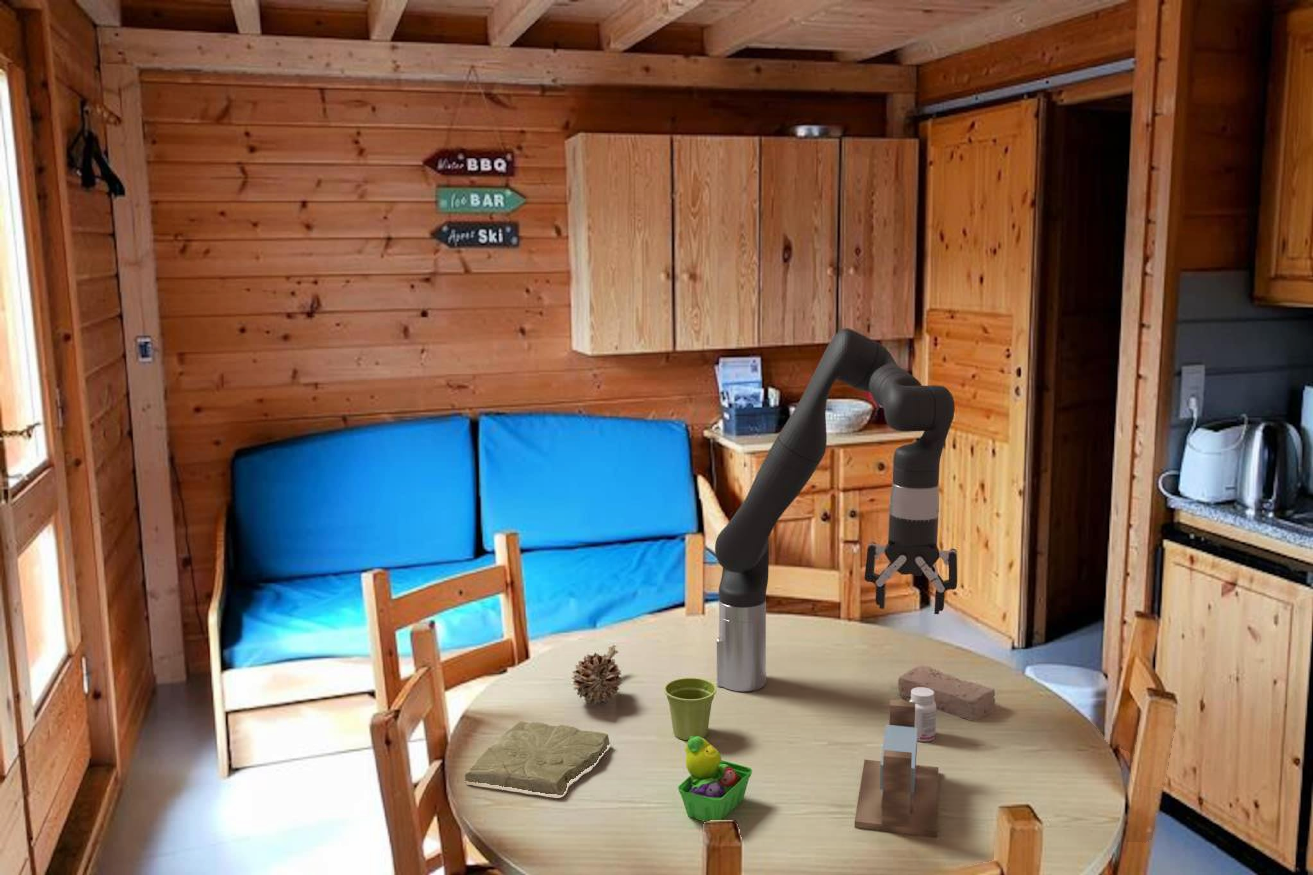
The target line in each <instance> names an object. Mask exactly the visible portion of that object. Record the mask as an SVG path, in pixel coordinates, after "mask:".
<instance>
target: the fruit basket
mask: <svg viewBox="0 0 1313 875" xmlns="http://www.w3.org/2000/svg"><path fill="white" fill-rule="evenodd" d="M685 752H686V758H685V766H686V768H687V769H686V770H687V772H688V773H689V774H690V775H689V776H688V777H687V778H686V779H685V780H684V781H682V782H681V784H679V785H678V786H677V790H678V792H679V794H680V796H681V798H682V802H683V806H684V808H685V811H686V814H687V817H688V818H691V817H694V819H695V818H696V820H697V819H698V821H701V820H704V821H710V820H721V821H722V818H723V819H725V818H726V817H727V815H729V814H730V812H731V811H733V810H734V809H735V808H736V807H737V805H738V804H740V803H741V802H742V801H743V800H744V798H745V794H746V790H747V788H748V784H749V780H750V778H751V776H752V774H753V769H752V768H750V767H749V766H744V765H741V764H737V763H734V762H730V761H726V760H723V759H722V755H721V753H720V752H719V751H718V749H717V748H716V747H715V746H713V745H712V744H711V743H709V742H708V741H707V739H705V737H704V738H701V737H699V736H696V737H694V736H691V737H690V739H688V740H687V742H686V746H685ZM704 821H703V822H704Z"/></svg>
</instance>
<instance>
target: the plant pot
mask: <svg viewBox="0 0 1313 875" xmlns="http://www.w3.org/2000/svg"><path fill="white" fill-rule="evenodd" d="M717 687H718V686H717V684H715V683H713V682H712V681H711V680H708V679H705V678H701V677H681V678H677V679H673V680H671V681H669V682H668V683H666V684H665V685H664V687H663V690H664V694H665V695H666V699H667V700H668V703H669V711H670V718H671V725H672V732H673V735H674V736H675V737H676V738H678V739H681V740H684V741H688V740H689V739H690V737H691V736H694V737H696V736H699V737H701V738H704V739H705V737H706V736H708V735H707V734H708V732H709V725H710V717H711V711H712V703H713V700H714V698H715V695H716V694H717V691H718V688H717Z"/></svg>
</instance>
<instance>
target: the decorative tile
mask: <svg viewBox="0 0 1313 875" xmlns="http://www.w3.org/2000/svg"><path fill="white" fill-rule="evenodd" d="M609 744H610V745H611V742H610V738H609V734H608V733H604V732H598V731H592V730H583V729H582V730H581V729H579V728H578V727H576V726H575V727H574V726H570V725H567V724H566V725H565V724H559V725H550V724H548V723H544V722H538V721H536V722H535V721H533V722H525V721H523V720H522V721H521V720H520V721H517V722H516V723H515V724H514V725H513V726H511V727H510V728H508V730H507V731H506V732H504V733H503V734H502V735H501V736H500V737H499V738H498V739H496V741H495V742H494V743H492V744H491V745H490V747H488V748H486V749H485V751H484V752H483V753H482V754H481V755H480V756H479V757H478V758H477V759H476V760H475V761H474V763H473V764H472V765H471V766H470V767H469V768H468V769H467V770H466V772H465V775H464V780H465V781H469V782H475V783H476V782H478V783H487V784H490V785H499V786H502V787H503V786H504V787H512V788H517V789H522V790H528V791H532V792H540V793H545V794H557V795H563V794H564V792H565V791H566V788H567V783H569V781H570V780H571V779H574V778H576V776H578V775H579V774H581V772H583V771H584V770H585V769H587V768H589V767H590V766H592V765H594V763H596V762H597V760H598V758H599V756H601V755H602V753H604V751H605V750H606V749H607V745H609Z"/></svg>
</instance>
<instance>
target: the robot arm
mask: <svg viewBox="0 0 1313 875" xmlns="http://www.w3.org/2000/svg"><path fill="white" fill-rule="evenodd" d="M836 381H839V382H842V383H843V384H845V385H847V386H850V387H852V388H853V389H856V390H859V391H864V392H867V393H870V395H871V397H872V399H873V400H874V402H876V403H877V404H878V406H880V407H881V408H882V409H883V410H884V412H883V413H884V419H885V422H886V424H887V425H888V427H889V428H891V429H892V430H894V431H897V432H898V431H899V432H922V435H921V436H920V437H919V439H918V440H917V441H914V442H912V443H908V444H904V445H901V446H899V447H897V448H896V449H895V450H894V454H893V461H892V464H893V465H892V483H891V484H892V485H891V490H890V497H889V505H888V511H889V515H888V518H889V519H888V538H887V543H886V545H882V544H877V543H876V542H874V541H871V542H870V543H869V545H868V546H867V551H866V559H865V569H864V581H865V582H867V583H872V584H873V585H875V604H876V605H877V606H879V609H881V610H884V609H885V607H886V593H887V592H886V590H887V588H886V587H887V583H886V582H888V580H889V579H891V577H892V576H893V575H894V574H896V572H897V573H898V574H900V575H902V576H903V575H906V576H907V575H913V576H916V577H921V576H925V577H926V578H927V579H928V580H929V582H930V583H931V584H932V586H933V587H934V588H935V595H934V613H933V614H934V615H940V612H943V610H944V608H945V597H946V594H945V593H946V592H947V591H948V590H956V589H957V586H958V550H957V549H955V548H951V549H949V550H940V549H939V548H938V531H939V529H938V528H939V515H940V513H939V512H940V493H939V492H940V491H939V483H940V482H939V480H940V463H941V456H942V453H943V450H944V447H945V443H946V440H947V437H948V435H949V432H950V428H951V425H952V423H953V420H954V416H955V408H956V407H955V406H956V405H955V400H954V397H953V395H952V392H951V391H950V390H949V389H948V388H947V387H945V386H944V385H937V384H936V385H935V384H934V385H932V384H931V385H922V384H921V382H920V381H919V380H918V379H917V378H916V377H915V376H913V374H911V373H910V372H908V371H906V370H905V369H903V368H902V367H901V366H899V365H898V364H897V363H896V360H895V359H894V358H893V356H892V354H891V352H889V350H888V349H887V348H886V347H885V346H884V345H883V344H881V343H880V342H877V341H875V340H874V339H871V338H869V337H867V336H865V335H863V334H862V333H860V332H858V331H855V330H853V329H851V328H842V329H841V330H839V331H838V332H837V333H836V334H835V335H834V336H833V337H832V339H831V340H830V342H829V343H828V345H827V347H826V349H825V350H824V353H823V354H822V357H821V358H820V360H819V363H818V364H817V366H816V368H815V371H814V372H813V375H812V377H811V378H810V379H809V383H808V385H807V387H806V389H805V390H804V392H803V394H802V396H801V397H800V400H798V401H799V402H798V403H797V405H796V406H795V408H794V409H793V411H792V413H791V414H790V416H789V418H788V419H787V421H786V423H785V424H784V426H783V427H782V429H781V431H780V432H779V433H778V435H777V437H776V438H775V439H774V441H773V443H772V445H771V447H770V449H769V450H768V452H767V454H766V456H765V458H764V460H763V461H762V463H761V465H760V468H759V469H758V471H757V473H756V476H755V478H754V480H753V481H752V483H751V486H750V489H749V491H748V492H747V495H746V496H745V498H744V500H743V502H742V504H741V505H740V507H739V508H738V509H737V510H736V512H735V514H734V515H733V516H732V518H731V519H730V520H729V522H727V524H726V525H725V527H724V528H723V529H722V530H721V531H719V533H718V535H717V537H716V540H715V545H714V552H715V557H716V560H717V561H718V564H719V565H720V566H721V567H722V573H721V578H720V582H719V586H718V638H717V639H716V687H721V688H725V689H727V690H730V691H735V692H751V691H752V692H753V691H758V690H760V689H762V688H763V687H764V686H765V685H766V682H767V678H766V677H767V667H766V666H767V663H766V662H767V656H766V655H767V589H768V585H769V570H770V569H769V568H770V566H769V564H770V563H769V562H770V560H769V559H770V557H769V556H770V542H769V538H770V535H771V533H772V531H773V529H774V528H775V526H776V524H777V522H778V521H779V519H780V518H781V517H782V516H783V514H784V513H785V511H786V510H787V509H788V508H789V506H790V505H791V504H792V503H793V502H794V500H795V499H796V498H797V496H799V495H800V493H801V491H802V490H803V489H804V488H805V486H806V485H807V484H808V482H809V480H811V478H812V477H813V474H814V473H815V471H816V470H817V468H818V466H819V465H820V464H821V461H822V460H823V458H824V456H825V454H826V451H827V442H828V441H827V433H828V432H827V420H826V419H827V417H826V411H827V402H828V398H829V395H830V392H831V390H832V387H833V386H834V383H835V382H836ZM882 554H884V555H885V556H886V558H887V560H888V561H889V563H888V564H887V565H886V566H885V567H884V569H883V570H882V571H881V572H880V574H878V573H876V572H875V565H876V559H879V558H880V556H881V555H882ZM939 558H940V559H941V560H942V561H943V564H944V565H946V566H948V579H945V580H944V579H943V578H942V576H941V575H940V573H939V572H938V569H937V568H936V567H935V563H937V561H938V560H939Z"/></svg>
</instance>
